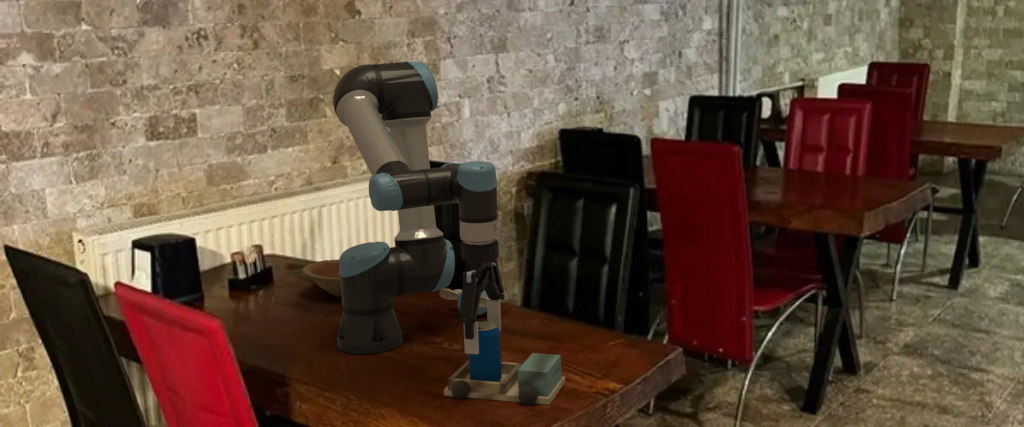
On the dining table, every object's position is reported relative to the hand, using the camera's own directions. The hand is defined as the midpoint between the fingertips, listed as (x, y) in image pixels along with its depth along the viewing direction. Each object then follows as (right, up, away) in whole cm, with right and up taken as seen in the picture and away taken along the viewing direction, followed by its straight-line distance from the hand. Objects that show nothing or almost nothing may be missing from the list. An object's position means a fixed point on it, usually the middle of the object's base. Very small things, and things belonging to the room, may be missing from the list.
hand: (483, 341), depth 202 cm
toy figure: (-3, 0, +50) cm, 50 cm away
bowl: (-40, +4, +75) cm, 85 cm away
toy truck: (+4, -10, 0) cm, 11 cm away
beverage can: (0, -9, +1) cm, 9 cm away
